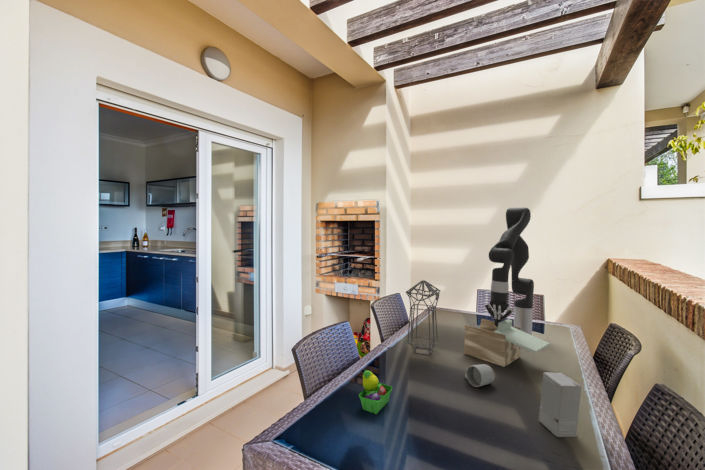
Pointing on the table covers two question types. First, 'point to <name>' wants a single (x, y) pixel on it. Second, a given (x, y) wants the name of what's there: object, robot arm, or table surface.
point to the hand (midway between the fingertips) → (498, 326)
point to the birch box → (490, 344)
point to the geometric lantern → (423, 309)
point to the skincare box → (559, 404)
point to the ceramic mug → (480, 375)
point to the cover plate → (520, 337)
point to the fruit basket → (374, 393)
